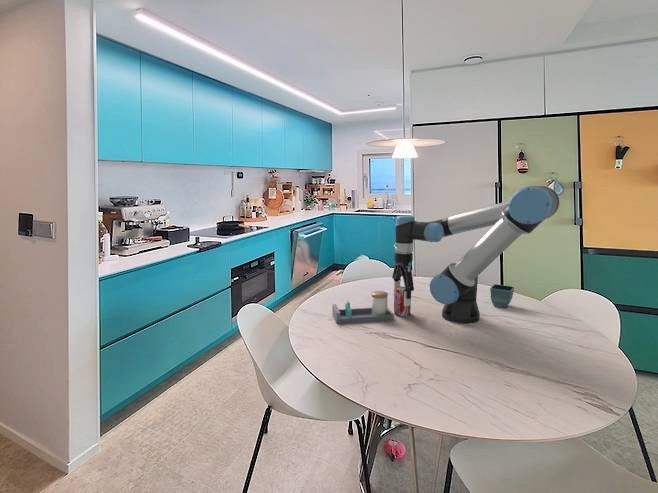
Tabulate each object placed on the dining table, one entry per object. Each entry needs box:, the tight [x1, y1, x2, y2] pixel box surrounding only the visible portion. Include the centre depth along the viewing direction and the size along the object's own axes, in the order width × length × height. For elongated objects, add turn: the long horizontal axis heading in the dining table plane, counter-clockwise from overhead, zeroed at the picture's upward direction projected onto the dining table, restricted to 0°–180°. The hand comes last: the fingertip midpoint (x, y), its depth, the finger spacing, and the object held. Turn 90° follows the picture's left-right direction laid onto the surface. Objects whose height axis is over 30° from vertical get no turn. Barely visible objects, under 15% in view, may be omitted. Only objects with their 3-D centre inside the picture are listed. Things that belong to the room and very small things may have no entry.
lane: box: [331, 303, 395, 325], centre depth 155 cm, size 24×11×5 cm, turn 98°
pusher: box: [344, 300, 352, 317], centre depth 154 cm, size 1×8×7 cm, turn 8°
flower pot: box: [489, 283, 515, 309], centre depth 169 cm, size 9×9×9 cm
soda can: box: [393, 285, 412, 317], centre depth 158 cm, size 7×7×12 cm
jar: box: [371, 290, 389, 316], centre depth 156 cm, size 7×7×10 cm
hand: (401, 300), depth 158 cm, fingers open, 13 cm apart
